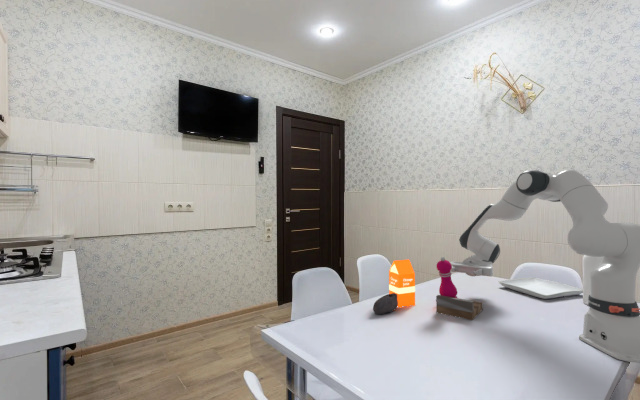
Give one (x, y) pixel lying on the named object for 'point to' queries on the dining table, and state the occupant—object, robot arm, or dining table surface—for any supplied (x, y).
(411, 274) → the orange juice
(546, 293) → the square plate
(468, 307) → the walnut stand
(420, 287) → the dining table surface
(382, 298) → the perforated stone tool
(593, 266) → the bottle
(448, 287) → the pepper mill
